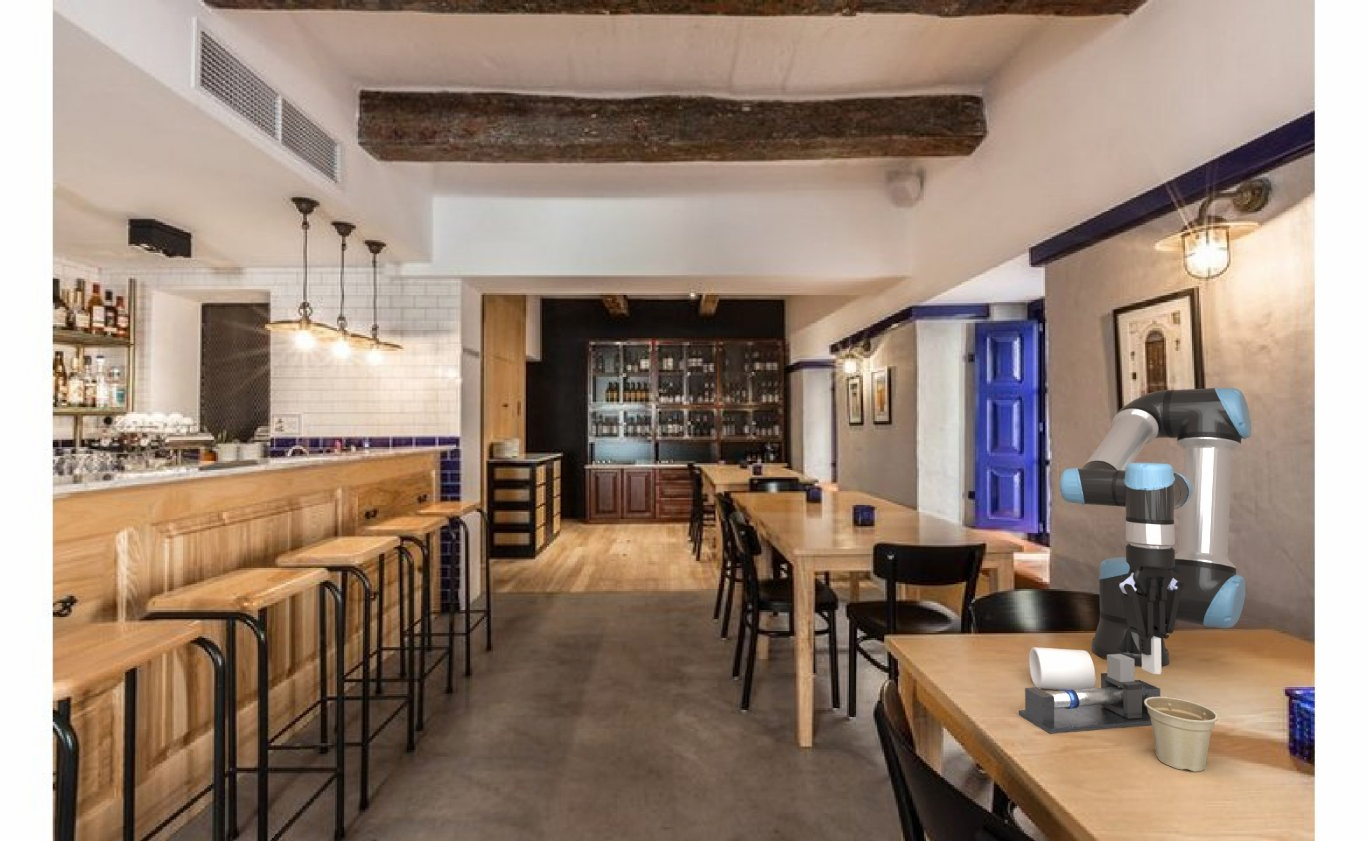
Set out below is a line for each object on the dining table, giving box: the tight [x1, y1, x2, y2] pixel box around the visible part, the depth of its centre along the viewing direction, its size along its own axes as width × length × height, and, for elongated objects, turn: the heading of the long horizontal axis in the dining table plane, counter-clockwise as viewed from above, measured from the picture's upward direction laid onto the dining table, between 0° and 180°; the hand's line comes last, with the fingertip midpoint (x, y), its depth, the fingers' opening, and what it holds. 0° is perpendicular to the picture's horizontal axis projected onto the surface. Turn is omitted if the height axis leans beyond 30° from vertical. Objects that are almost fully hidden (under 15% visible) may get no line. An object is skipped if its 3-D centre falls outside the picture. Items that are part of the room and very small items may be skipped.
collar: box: [1100, 654, 1142, 719], centre depth 122 cm, size 3×6×10 cm, turn 10°
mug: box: [1028, 646, 1096, 691], centre depth 137 cm, size 12×10×8 cm
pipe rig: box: [1018, 679, 1161, 735], centre depth 121 cm, size 24×8×6 cm, turn 100°
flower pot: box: [1144, 696, 1219, 773], centre depth 105 cm, size 9×9×9 cm
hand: (1151, 671), depth 123 cm, fingers closed
